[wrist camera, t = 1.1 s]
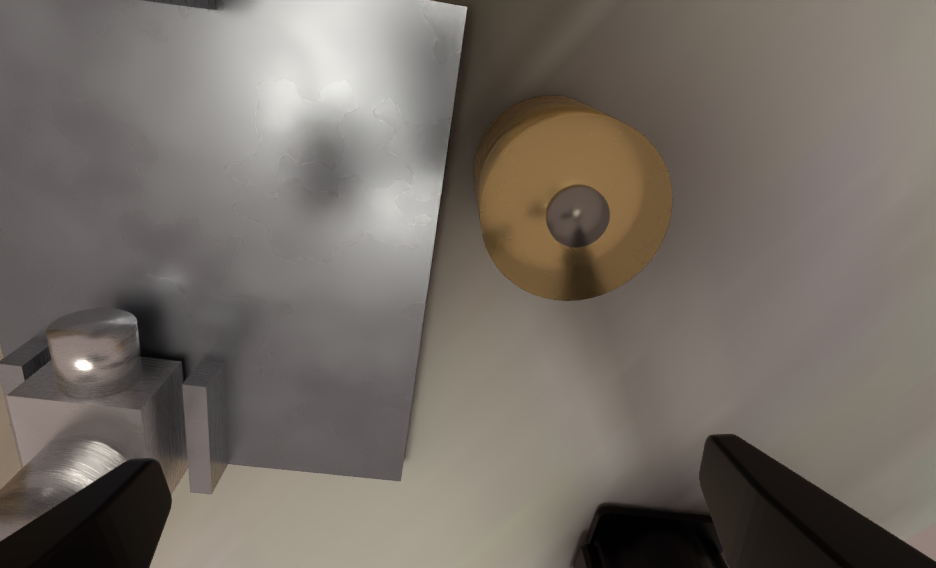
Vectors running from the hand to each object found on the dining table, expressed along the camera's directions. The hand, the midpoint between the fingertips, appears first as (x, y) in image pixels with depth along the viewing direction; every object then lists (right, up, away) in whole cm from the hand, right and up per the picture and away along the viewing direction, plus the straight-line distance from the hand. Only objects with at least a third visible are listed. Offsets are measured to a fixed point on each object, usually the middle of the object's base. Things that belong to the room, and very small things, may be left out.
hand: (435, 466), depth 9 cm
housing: (+3, +7, +10) cm, 12 cm away
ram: (-12, -1, +11) cm, 16 cm away
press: (-8, +5, +10) cm, 14 cm away
